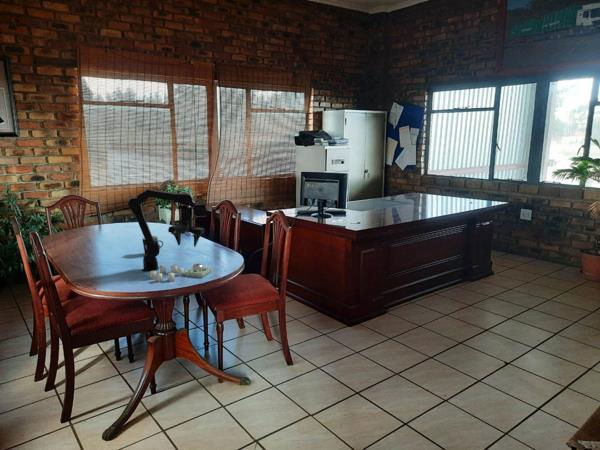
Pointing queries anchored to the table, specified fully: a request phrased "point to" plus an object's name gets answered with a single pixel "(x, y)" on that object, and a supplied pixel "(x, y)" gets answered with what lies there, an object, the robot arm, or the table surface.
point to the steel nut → (198, 268)
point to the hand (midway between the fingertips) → (187, 245)
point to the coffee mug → (146, 245)
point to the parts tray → (199, 275)
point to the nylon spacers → (162, 271)
